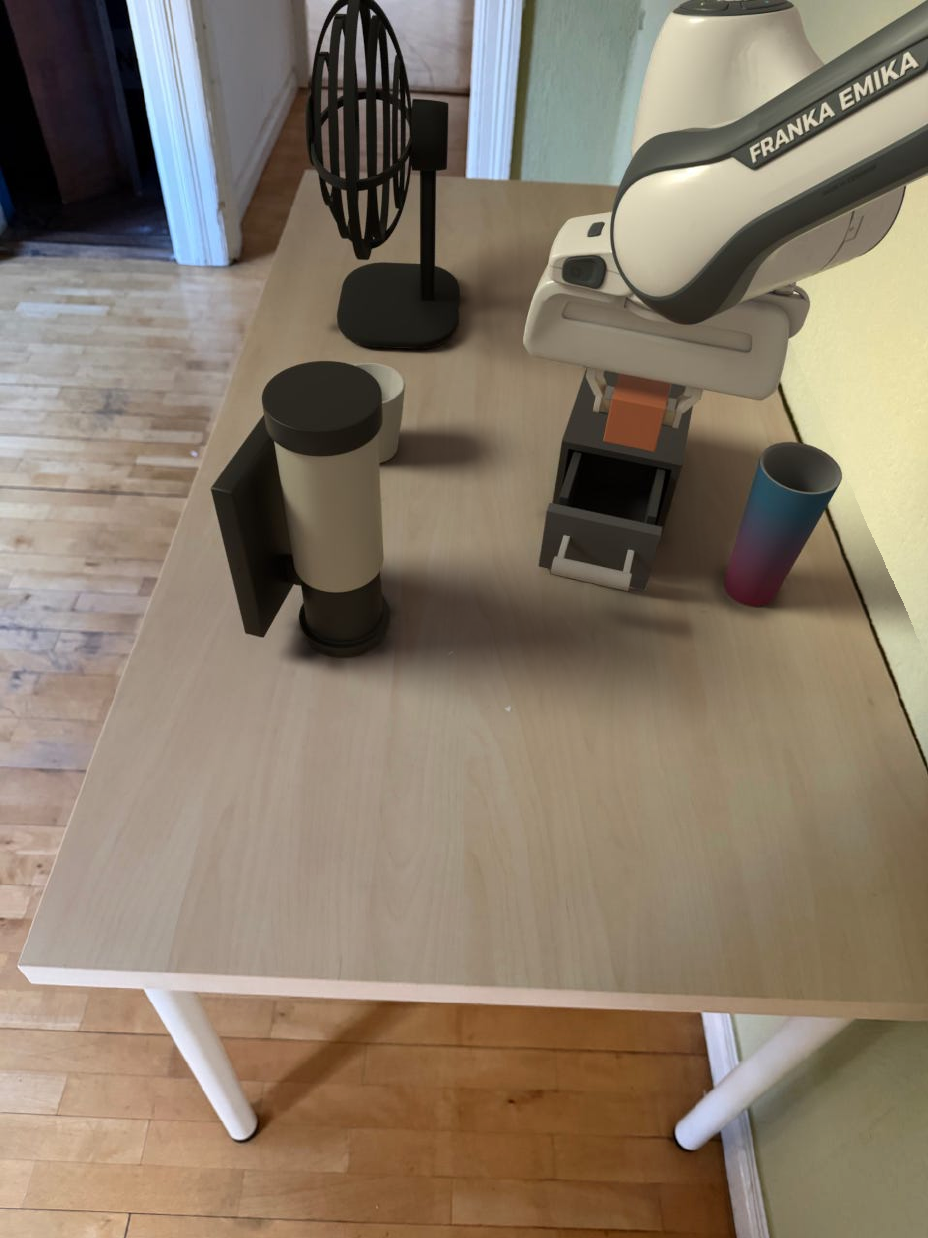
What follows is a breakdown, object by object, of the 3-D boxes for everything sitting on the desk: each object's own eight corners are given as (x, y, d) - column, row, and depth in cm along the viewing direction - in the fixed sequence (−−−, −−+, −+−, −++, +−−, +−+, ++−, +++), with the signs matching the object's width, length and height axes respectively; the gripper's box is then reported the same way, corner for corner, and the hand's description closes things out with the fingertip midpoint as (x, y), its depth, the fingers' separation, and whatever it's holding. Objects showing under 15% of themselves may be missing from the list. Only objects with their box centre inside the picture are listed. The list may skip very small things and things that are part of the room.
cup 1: (407, 470, 94) (406, 404, 88) (313, 472, 94) (305, 405, 87) (405, 427, 99) (404, 361, 93) (316, 428, 98) (309, 362, 92)
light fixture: (366, 683, 76) (347, 458, 57) (248, 654, 77) (193, 425, 59) (409, 586, 83) (405, 359, 65) (301, 561, 85) (267, 332, 66)
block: (661, 421, 76) (672, 378, 73) (654, 452, 73) (666, 408, 70) (611, 411, 77) (620, 368, 73) (602, 441, 74) (612, 397, 71)
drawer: (637, 626, 80) (654, 571, 74) (527, 600, 81) (535, 544, 76) (663, 500, 91) (678, 444, 86) (565, 479, 93) (575, 423, 87)
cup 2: (794, 580, 86) (852, 460, 74) (771, 624, 82) (828, 504, 70) (729, 552, 88) (775, 431, 77) (703, 594, 84) (748, 473, 73)
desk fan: (337, 256, 124) (314, -46, 98) (460, 261, 125) (471, -39, 98) (313, 364, 107) (277, 31, 80) (457, 370, 107) (469, 40, 80)
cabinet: (661, 535, 89) (682, 465, 82) (550, 511, 91) (561, 440, 84) (678, 449, 98) (697, 380, 92) (577, 428, 100) (589, 359, 93)
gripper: (819, 263, 64) (761, 418, 74) (546, 216, 67) (528, 372, 77) (818, 306, 60) (757, 464, 70) (527, 254, 63) (511, 413, 73)
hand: (635, 415), depth 74 cm, fingers closed on block, 4 cm apart
